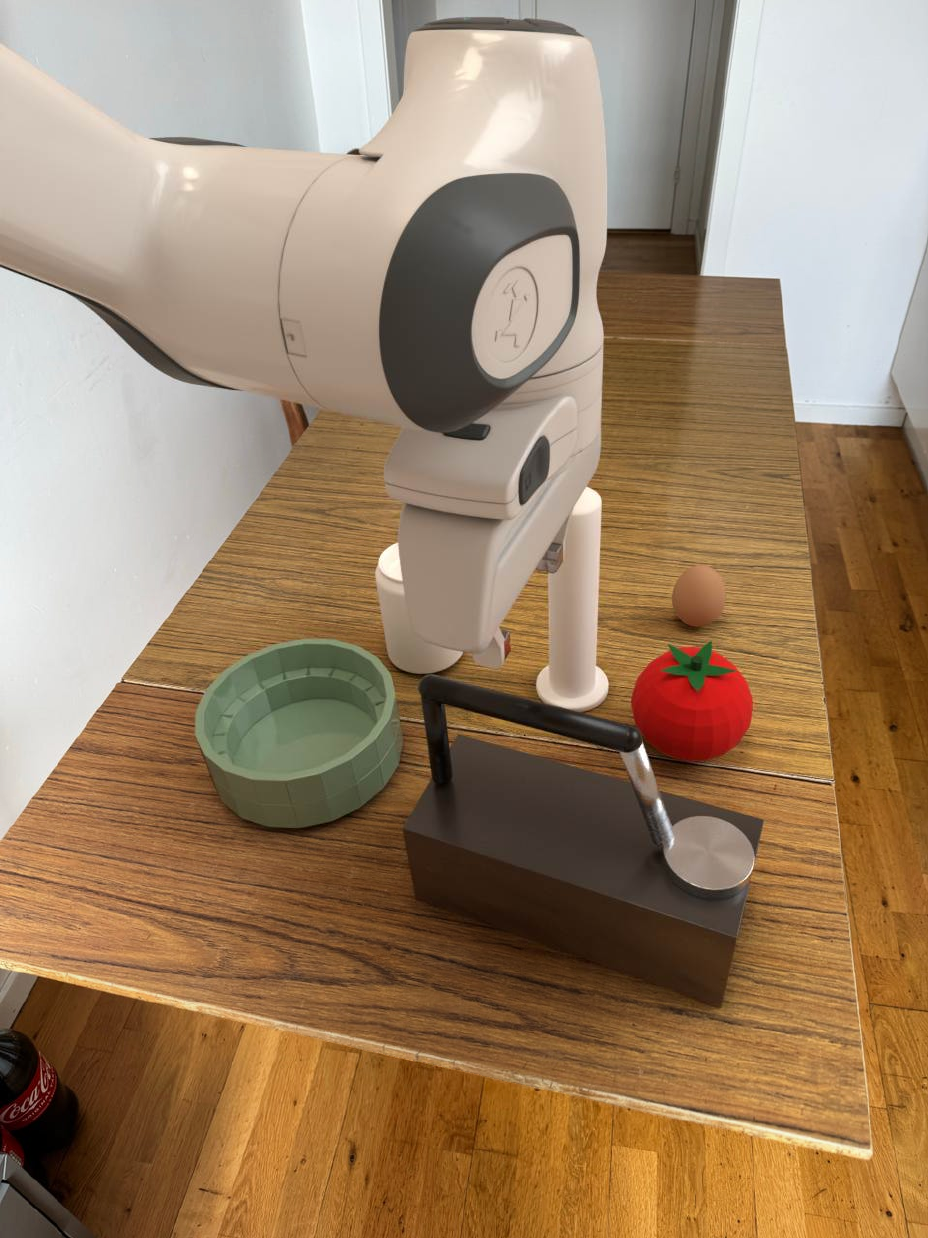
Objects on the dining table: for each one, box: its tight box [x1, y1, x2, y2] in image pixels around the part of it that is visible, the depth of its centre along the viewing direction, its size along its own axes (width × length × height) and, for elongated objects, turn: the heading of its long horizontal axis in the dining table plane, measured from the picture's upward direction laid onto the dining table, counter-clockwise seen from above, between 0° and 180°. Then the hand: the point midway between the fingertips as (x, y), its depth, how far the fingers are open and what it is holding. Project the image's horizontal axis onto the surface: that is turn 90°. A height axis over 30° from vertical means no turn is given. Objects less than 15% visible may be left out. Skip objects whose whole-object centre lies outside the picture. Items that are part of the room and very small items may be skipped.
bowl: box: [194, 638, 404, 829], centre depth 81 cm, size 18×18×7 cm
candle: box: [535, 486, 610, 713], centre depth 80 cm, size 7×7×25 cm
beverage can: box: [374, 542, 464, 675], centre depth 90 cm, size 8×8×12 cm
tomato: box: [630, 640, 754, 762], centre depth 78 cm, size 10×10×10 cm
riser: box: [401, 733, 765, 1009], centre depth 67 cm, size 10×24×9 cm, turn 66°
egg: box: [671, 564, 727, 628], centre depth 92 cm, size 5×5×7 cm
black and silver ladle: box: [417, 673, 756, 900], centre depth 61 cm, size 24×6×11 cm, turn 66°
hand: (522, 609), depth 54 cm, fingers open, 8 cm apart
